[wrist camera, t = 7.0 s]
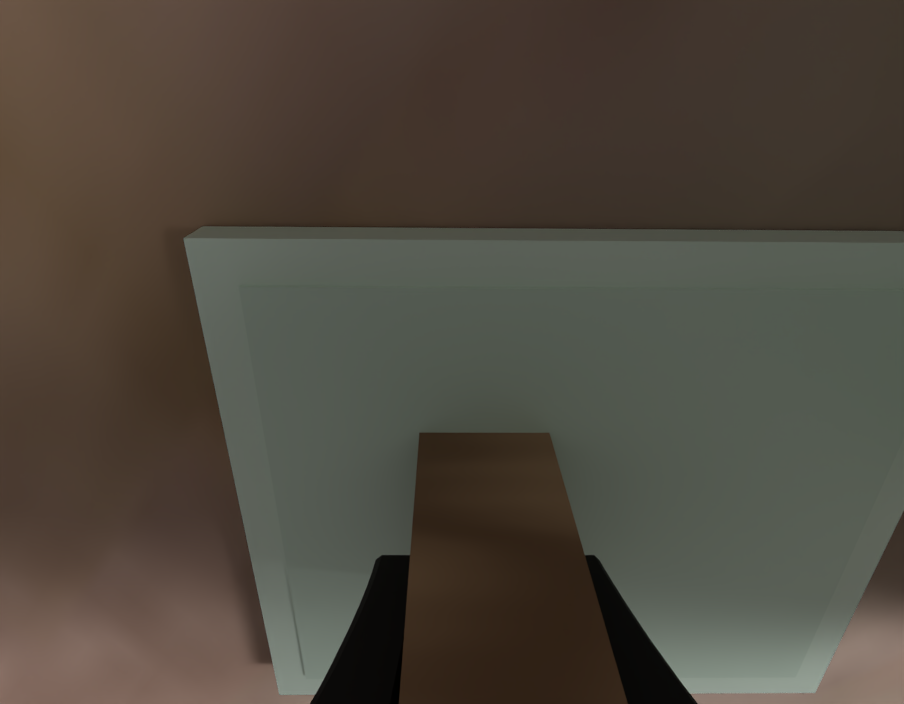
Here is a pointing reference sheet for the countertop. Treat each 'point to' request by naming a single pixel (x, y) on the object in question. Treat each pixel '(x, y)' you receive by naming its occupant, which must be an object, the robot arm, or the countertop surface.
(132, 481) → the countertop surface
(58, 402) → the countertop surface
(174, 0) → the countertop surface
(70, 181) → the countertop surface
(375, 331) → the tray
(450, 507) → the walnut block
